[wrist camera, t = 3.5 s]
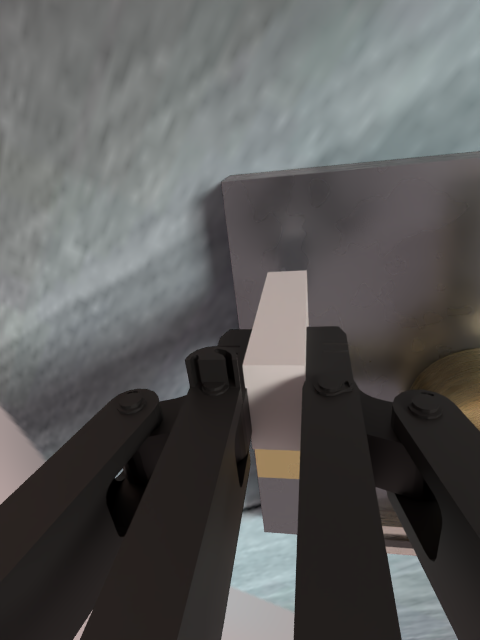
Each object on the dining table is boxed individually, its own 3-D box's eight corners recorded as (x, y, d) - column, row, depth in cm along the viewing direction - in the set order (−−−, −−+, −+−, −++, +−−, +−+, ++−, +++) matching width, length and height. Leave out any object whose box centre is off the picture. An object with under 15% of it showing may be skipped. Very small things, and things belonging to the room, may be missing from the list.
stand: (229, 175, 18) (212, 188, 15) (839, 116, 14) (997, 116, 11) (267, 505, 28) (261, 557, 25) (634, 528, 24) (685, 593, 20)
